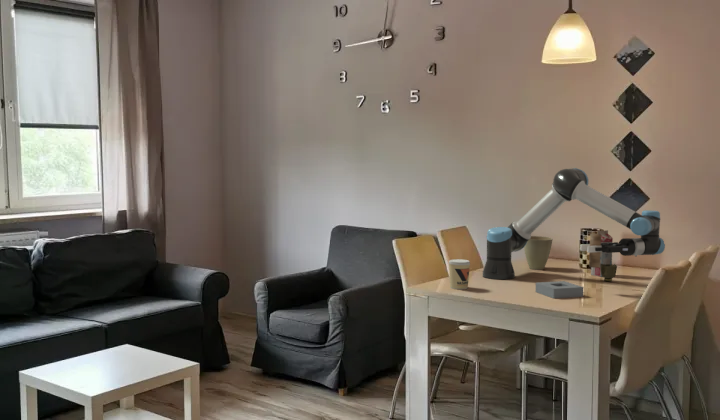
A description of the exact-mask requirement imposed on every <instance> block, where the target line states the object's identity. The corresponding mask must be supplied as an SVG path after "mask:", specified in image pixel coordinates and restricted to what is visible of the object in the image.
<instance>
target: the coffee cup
mask: <svg viewBox="0 0 720 420" xmlns="http://www.w3.org/2000/svg"><path fill="white" fill-rule="evenodd" d="M470 267H471V262H470V260H467V259H461V258H460V259H457V258H455V259H454V258H453V259H449V261H448V271H449V273H448V274H449V275H448V276H449V288H450V289H453V290H467V289H468V288H469V278H470Z"/></svg>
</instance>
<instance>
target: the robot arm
mask: <svg viewBox="0 0 720 420" xmlns="http://www.w3.org/2000/svg"><path fill="white" fill-rule="evenodd" d="M572 200H573V201H574V200H577V201H579V202H581V203H583V204H585V205H586V206H587V207H590V208H592V209H593V210H595V211H597V212H598V213H600V214H602V215H604V216H606V217H608V218H609V219H611V220H613V221H614V222H617V223H618V224H620V225H622V226H624V227H626V228H628V229H629V230H630V231H631V232H632V233H633V234H634V235H636V236H640V237H629V238H627V237H625V238H621V239H620V240H619V242H618V241H617V242H616V241H613V243H609V242H608V243H601V246H590V243H588V244H587V243H586V244H585V243H584V244H580V245H579V247H580V249H579V251H581V252H587V253H589V254H590V253H591V252H606V253H612V254H614V253H620V255H621V256H626V257H629V256H634V257H637V256H651V255H652V256H654V255H661V254H662V253H663V252H664V251H665V248H666V243H665V240H664V239H663V238H662V237H660V226H661V212H660V211H658V210H651V209H650V210H646V209H645V210H642V211H641V214H640V213H638V212H637V211H635V210H633V209H631V208H629V207H628V206H626V205H624V204H622V203H620V202H619V201H616V200H615V199H613V198H611V197H610V196H608V195H605V194H604V193H602V192H600V191H598V190H596V189H595V188H593V187H591V186H589V177H588V175H587V173H586V172H585V171H584V170H583V169H579V168H577V167H574V168H572V167H571V168H564V169H563V168H562V169H560V170H559V171H558V172H557V173H555V175H554V176H553V183H552V184H551V189H550V190H549V191H547V193H546V194H544V195H543V196H542V198H541V199H539V201H538V202H536V204H534V206H532V207H531V208H530V209H529V210H528V211H527V212H526V213H525V214H524V215H523V216H522V217H521V218H520V219H519V220H514V221H513V222H511V223H510V224H509V225H508V226H507V227H506V226H497V227H491V228H489V229H488V230H487V233H486V234H487V235H486V261H485V264H484V266H483V270H482V277H483V278H486V279H494V280H512V279H514V278H515V277H516V276H515V275H516V273H515V270H514V266H513V263H512V253H514V252H519V251H521V250H522V249H524V247H525V245H526V243H527V241H528V240H529V239H530V238H531V236H532V234H533V232H534V231H535V230H537V229H538V228H539V227H540V225H542V223H544V222H545V221H546V220H548V218H549V217H550V216H552V214H554V213H555V212H556V211H557V210H558V209H559V208H560V207H561V206H562V205H564V204H565V202H571V201H572Z"/></svg>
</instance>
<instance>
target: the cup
mask: <svg viewBox="0 0 720 420" xmlns="http://www.w3.org/2000/svg"><path fill="white" fill-rule="evenodd" d="M600 268H601V275H602V277H601V278H603V280H604V282H607V283H612V282H613V279H614V278H615V277H616V274H617V271H618V270H617V268H618V265H617V264H615V263H614V264H613V263H612V264H611V266H610V264H606V265H605V264H602V263H601V264H600Z"/></svg>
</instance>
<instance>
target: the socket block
mask: <svg viewBox="0 0 720 420" xmlns="http://www.w3.org/2000/svg"><path fill="white" fill-rule="evenodd" d="M535 293H538V294H540V295H543V296H546V297H549V298H552V299H564V298H565V299H566V298H580V297H582V298H583V297H584V286H581V285H577V284H575V283H572V282H569V281H565V280H562V281H561V280H560V281H542V282H538V281H537V282H535Z"/></svg>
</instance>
